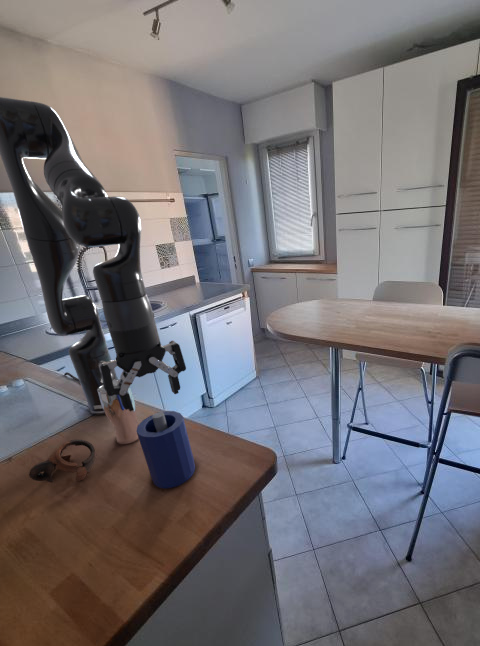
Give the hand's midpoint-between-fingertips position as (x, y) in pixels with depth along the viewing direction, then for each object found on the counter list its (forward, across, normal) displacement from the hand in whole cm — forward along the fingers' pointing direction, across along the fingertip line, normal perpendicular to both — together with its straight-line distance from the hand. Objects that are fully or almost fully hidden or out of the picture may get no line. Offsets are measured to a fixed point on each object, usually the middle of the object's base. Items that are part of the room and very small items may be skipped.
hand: (153, 400), depth 65 cm
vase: (+18, 0, 0) cm, 18 cm away
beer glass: (+19, +4, -21) cm, 28 cm away
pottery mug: (+19, +18, -16) cm, 30 cm away
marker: (+17, 0, 0) cm, 17 cm away
